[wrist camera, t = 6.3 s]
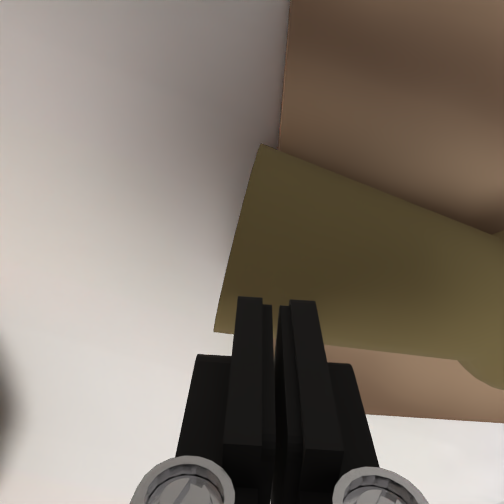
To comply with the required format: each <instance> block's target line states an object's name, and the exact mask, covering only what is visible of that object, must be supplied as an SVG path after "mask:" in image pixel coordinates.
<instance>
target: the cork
mask: <svg viewBox="0 0 504 504" xmlns="http://www.w3.org/2000/svg"><path fill="white" fill-rule="evenodd" d="M238 296H245V297H261V298H263V304H267V305H272V317H273V339H276V335H277V324H278V314H279V306H280V305H283V306H289V300H290V299H293V300H309V301H315V302H316V306H317V312H318V317H319V322H320V327H321V332H322V337H323V343H324V345H330V346H338V347H347V348H356V349H364V350H373V351H381V352H390V353H398V354H407V355H416V356H424V357H433V358H441V359H450V360H457V361H458V362H459V363H460V364H461V365H462V366H463V367H464V368H465V370H467V371H468V372H469V373H470V374H471V375H473V376H474V377H475V378H476V379H478V380H480V381H482V382H484V383H486V384H487V385H489V386H491V387H493V388H497V389H500V390H504V230H503V231H500V232H498V233H495V234H492V235H491V234H488V233H486V232H483V231H481V230H478V229H476V228H473V227H471V226H468V225H466V224H463V223H461V222H458V221H456V220H453V219H451V218H448V217H446V216H443V215H441V214H438V213H435V212H433V211H430V210H428V209H425V208H423V207H420V206H418V205H415V204H413V203H410V202H408V201H405V200H403V199H400V198H398V197H395V196H393V195H390V194H388V193H385V192H383V191H380V190H377V189H375V188H372V187H370V186H367V185H365V184H362V183H360V182H357V181H355V180H352V179H350V178H347V177H345V176H342V175H340V174H337V173H335V172H332V171H330V170H327V169H325V168H322V167H320V166H317V165H314V164H312V163H309V162H307V161H304V160H302V159H299V158H297V157H294V156H292V155H289V154H287V153H284V152H282V151H279V150H277V149H274V148H272V147H269V146H267V145H264V144H262V143H261V144H260V147H259V149H258V152H257V155H256V158H255V162H254V165H253V168H252V172H251V175H250V179H249V183H248V186H247V190H246V193H245V197H244V201H243V205H242V209H241V213H240V216H239V220H238V224H237V228H236V232H235V236H234V240H233V244H232V248H231V252H230V256H229V260H228V264H227V269H226V273H225V277H224V282H223V286H222V290H221V295H220V299H219V304H218V309H217V314H216V319H215V325H214V332H218V333H227V334H234V329H235V319H236V309H237V299H238Z"/></svg>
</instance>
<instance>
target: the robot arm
mask: <svg viewBox="0 0 504 504" xmlns="http://www.w3.org/2000/svg"><path fill="white" fill-rule="evenodd" d="M270 499H271V504H429V503H428V502H427V500H426V499H425V497H424V496H423V494H422V493H421V492H420V491H419V490H418V489H417V488H416V487H415V486H414V485H413V484H412V483H411V482H410V481H409V480H407V479H405V478H403V477H402V476H400V475H398V474H397V473H395V472H392V471H389V470H386V469H383V468H380V467H379V464H378V460H377V456H376V452H375V449H374V445H373V441H372V437H371V434H370V430H369V426H368V422H367V419H366V415H365V411H364V407H363V404H362V400H361V396H360V392H359V389H358V385H357V381H356V377H355V374H354V370H353V367H352V365H351V364H348V363H332V362H327V358H326V353H325V348H324V343H323V337H322V332H321V327H320V322H319V317H318V312H317V306H316V302H315V301H309V300H293V299H290V300H289V306H283V305H280V306H279V314H278V324H277V335H276V345H275V355H274V350H273V317H272V305H267V304H263V298H261V297H245V296H238V299H237V309H236V319H235V329H234V339H233V349H232V356H220V355H203V354H198V355H197V357H196V361H195V365H194V370H193V375H192V380H191V384H190V389H189V394H188V399H187V403H186V408H185V413H184V418H183V423H182V427H181V432H180V437H179V442H178V446H177V451H176V456H175V458H170V459H168V460H166V461H164V462H162V463H160V464H158V465H156V466H155V467H154V468H153V469H151V470H150V471H149V472H148V473H147V474H146V475H145V476H144V477H143V479H142V480H141V482H140V484H139V485H138V487H137V488H136V491H135V493H134V495H133V497H132V499H131V502H130V504H270Z"/></svg>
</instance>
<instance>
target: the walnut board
mask: <svg viewBox="0 0 504 504" xmlns="http://www.w3.org/2000/svg"><path fill="white" fill-rule="evenodd" d="M278 150H279V151H282V152H284V153H287V154H289V155H292V156H294V157H297V158H299V159H302V160H304V161H307V162H309V163H312V164H314V165H317V166H320V167H322V168H325V169H327V170H330V171H332V172H335V173H337V174H340V175H342V176H345V177H347V178H350V179H352V180H355V181H357V182H360V183H362V184H365V185H367V186H370V187H372V188H375V189H377V190H380V191H383V192H385V193H388V194H390V195H393V196H395V197H398V198H400V199H403V200H405V201H408V202H410V203H413V204H415V205H418V206H420V207H423V208H425V209H428V210H430V211H433V212H435V213H438V214H441V215H443V216H446V217H448V218H451V219H453V220H456V221H458V222H461V223H463V224H466V225H468V226H471V227H473V228H476V229H478V230H481V231H483V232H486V233H488V234H491V235H492V234H495V233H498V232H500V231H503V230H504V0H290V9H289V21H288V33H287V45H286V57H285V69H284V81H283V94H282V106H281V118H280V130H279V142H278ZM275 345H276V339H273V350H274V355H275ZM324 348H325V353H326V358H327V362H332V363H348V364H351V365H352V367H353V370H354V374H355V377H356V381H357V385H358V389H359V392H360V396H361V400H362V404H363V407H364V411H365V414H370V415H386V416H401V417H416V418H432V419H447V420H462V421H478V422H493V423H504V390H500V389H497V388H493V387H491V386H489V385H487V384H486V383H484V382H482V381H480V380H478V379H476V378H475V377H474V376H473V375H471V374H470V373H469V372H468V371H467V370H465V368H464V367H463V366H462V365H461V364H460V363H459V362H458V361H457V360H450V359H441V358H433V357H424V356H416V355H407V354H398V353H390V352H381V351H373V350H364V349H356V348H347V347H338V346H330V345H324Z"/></svg>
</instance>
